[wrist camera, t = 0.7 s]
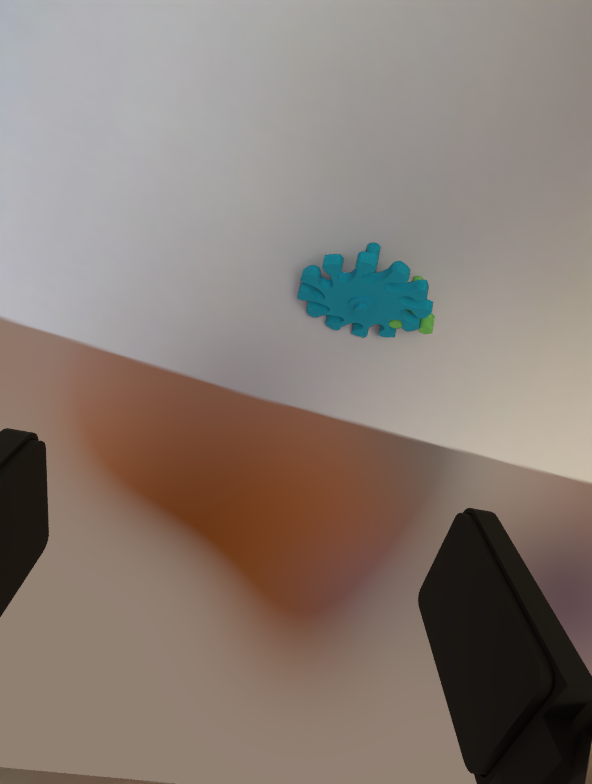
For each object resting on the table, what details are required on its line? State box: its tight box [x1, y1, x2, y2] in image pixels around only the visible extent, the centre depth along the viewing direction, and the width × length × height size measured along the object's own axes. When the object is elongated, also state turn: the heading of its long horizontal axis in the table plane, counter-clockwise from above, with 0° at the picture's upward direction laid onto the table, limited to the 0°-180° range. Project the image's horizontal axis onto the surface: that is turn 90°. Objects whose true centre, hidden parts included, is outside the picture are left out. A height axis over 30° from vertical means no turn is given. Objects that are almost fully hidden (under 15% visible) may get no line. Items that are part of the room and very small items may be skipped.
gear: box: [297, 243, 435, 337], centre depth 34 cm, size 11×6×10 cm
